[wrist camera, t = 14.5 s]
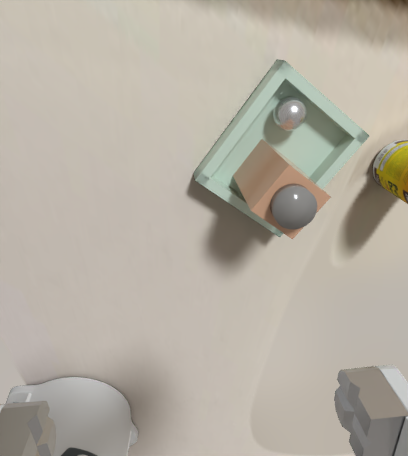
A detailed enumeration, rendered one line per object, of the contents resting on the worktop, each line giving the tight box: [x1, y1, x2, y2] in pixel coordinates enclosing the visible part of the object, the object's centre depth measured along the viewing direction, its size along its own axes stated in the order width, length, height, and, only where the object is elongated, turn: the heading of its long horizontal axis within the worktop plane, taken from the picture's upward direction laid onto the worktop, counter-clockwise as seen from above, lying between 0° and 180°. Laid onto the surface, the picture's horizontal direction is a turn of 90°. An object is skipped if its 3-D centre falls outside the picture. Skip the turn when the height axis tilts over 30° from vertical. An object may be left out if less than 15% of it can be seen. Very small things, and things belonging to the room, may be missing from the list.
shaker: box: [233, 139, 330, 239], centre depth 33 cm, size 5×5×10 cm
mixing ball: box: [273, 97, 307, 131], centre depth 34 cm, size 3×3×3 cm
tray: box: [194, 60, 369, 237], centre depth 36 cm, size 13×11×2 cm
